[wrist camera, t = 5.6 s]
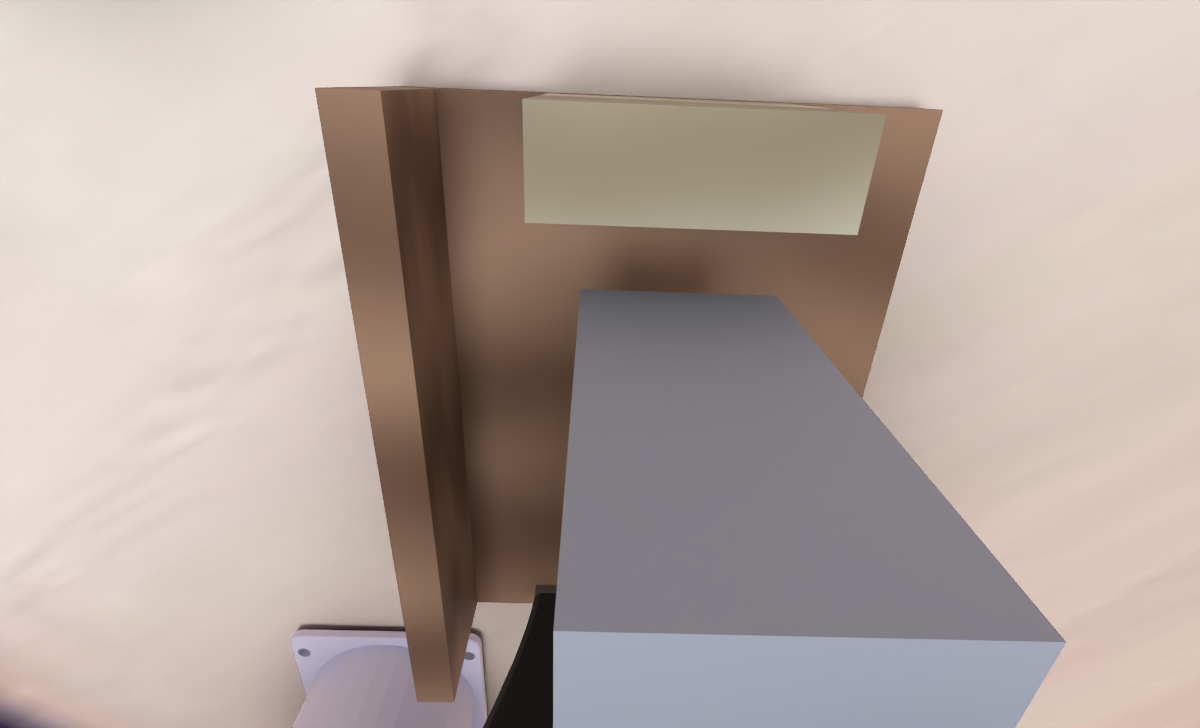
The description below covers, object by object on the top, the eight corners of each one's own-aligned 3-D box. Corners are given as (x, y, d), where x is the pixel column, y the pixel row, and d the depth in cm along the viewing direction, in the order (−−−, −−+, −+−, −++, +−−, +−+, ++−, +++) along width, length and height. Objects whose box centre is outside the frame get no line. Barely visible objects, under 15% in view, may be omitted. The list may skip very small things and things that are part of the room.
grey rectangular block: (776, 295, 12) (1066, 643, 4) (705, 676, 17) (784, 1112, 10) (580, 289, 12) (552, 631, 4) (571, 673, 17) (552, 1111, 10)
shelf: (793, 585, 23) (861, 757, 17) (453, 577, 23) (402, 750, 17) (918, 108, 15) (1123, 124, 9) (401, 86, 15) (273, 88, 9)
